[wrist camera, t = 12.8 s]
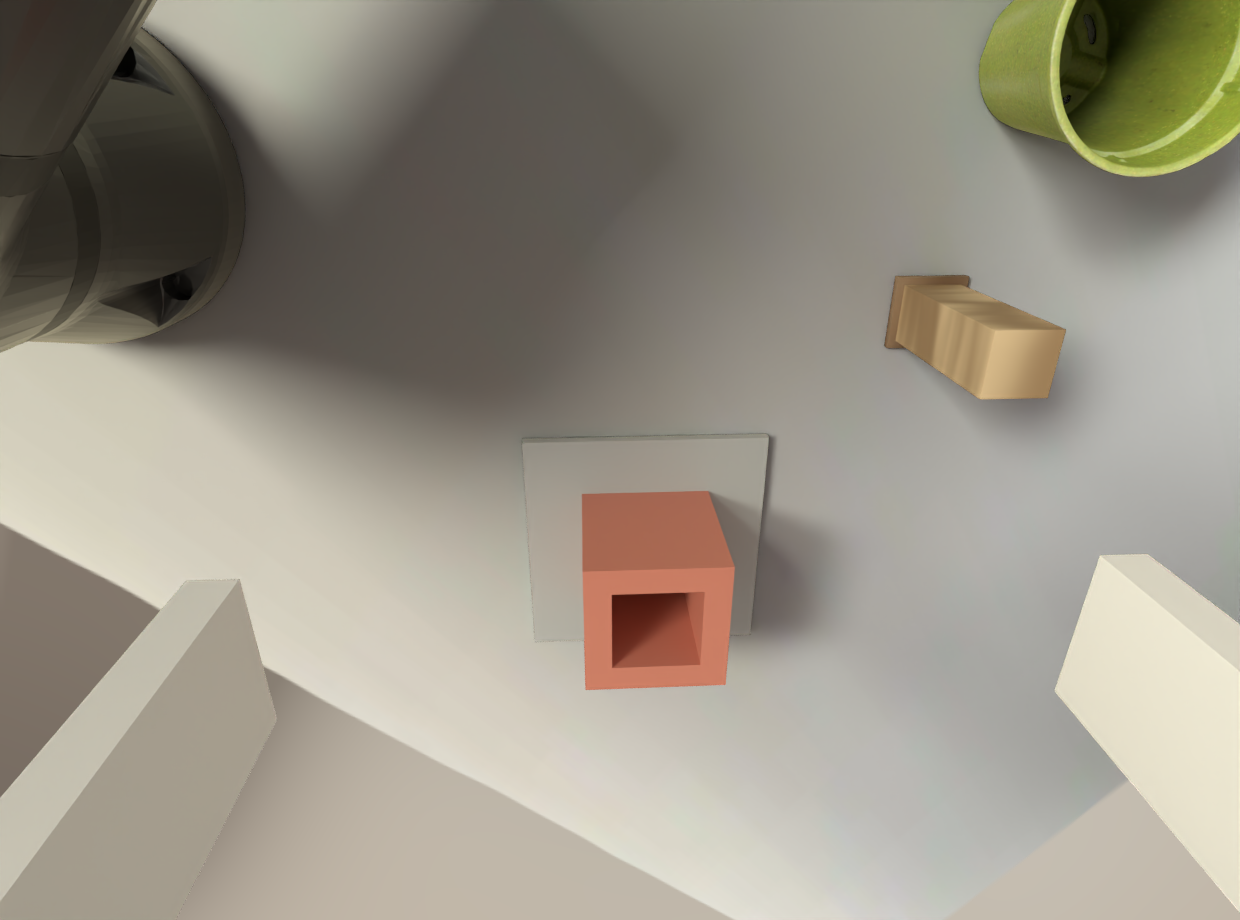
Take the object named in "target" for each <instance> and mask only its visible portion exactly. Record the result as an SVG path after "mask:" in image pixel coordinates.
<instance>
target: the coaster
mask: <svg viewBox="0 0 1240 920" xmlns="http://www.w3.org/2000/svg"><path fill="white" fill-rule="evenodd" d="M768 444H769V437H768V435H767V434H725V435H677V436H629V437H581V438H533V439H522V454H523V469H524V485H525V500H526V516H527V532H528V547H529V563H530V578H531V594H532V609H533V625H534V641H535V642H554V641H584V610H583V573H582V494H600V493H641V492H683V491H708V492H709V495H710V497H711V500H712V503H713V506H714V509H715V512H716V515H717V517H718V520H719V523H720V526H721V529H722V532H723V535H724V538H725V540H726V543H727V546H728V549H729V552H730V555H731V558H732V560H733V563H734V566H735V572H734V584H733V597H732V609H731V622H730V634H729V636H732V635H750V632H751V622H752V611H753V601H754V590H755V580H756V569H757V559H758V548H759V538H760V527H761V517H762V506H763V496H764V485H765V475H766V465H767V454H768Z"/></svg>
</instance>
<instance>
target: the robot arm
mask: <svg viewBox="0 0 1240 920" xmlns="http://www.w3.org/2000/svg"><path fill="white" fill-rule="evenodd" d="M156 1H157V0H0V353H1V352H3V351H6V350H8V349H10V348H13V347H15V346H17V345H19V344H22V343H24V342H27V341H31V342H56V343H80V344H107V343H117V342H123V341H128V340H133V339H138V338H141V337H145V336H148V335H151V334H153V333H156V332H158V331H160V330H163V329H165V328H167V327H169V326H171V325H173V324H175V323H177V322H179V321H181V320H183V319H185V318H187V317H188V316H190V315H192V314H193V313H195V312H196V311H198V310H199V309H200V308H202V307H203V306H204V305H205V304H206V303H208V302H209V301H210V300H211V299H212V298H213V297H214V295H215V294H216V293H217V292H218V291H219V290H220V288H221V287H222V286H223V284H224V283H225V281H226V280H227V278H228V276H229V275H230V273H231V271H232V269H233V267H234V264H235V262H236V259H237V257H238V254H239V250H240V247H241V243H242V238H243V232H244V224H245V198H244V188H243V182H242V176H241V172H240V168H239V164H238V160H237V157H236V154H235V151H234V148H233V145H232V143H231V140H230V138H229V135H228V133H227V131H226V129H225V127H224V124H223V122H222V121H221V119H220V117H219V115H218V113H217V111H216V110H215V108H214V106H213V105H212V103H211V101H210V100H209V98H208V97H207V95H206V94H205V92H204V91H203V90H202V88H201V87H200V85H199V84H198V83H197V82H196V80H195V79H194V78H193V76H192V75H191V74H190V73H189V72H188V71H187V69H186V68H185V67H184V66H183V65H182V64H181V63H180V62H179V61H178V60H177V59H176V58H175V57H174V56H173V55H172V54H171V53H170V52H169V51H168V50H167V49H166V48H165V47H164V46H163V45H162V44H160V43H159V42H158V41H157V40H156V39H155V38H153V37H152V36H151V35H150V34H148V33H147V32H146V31H144V30H143V29H142V28H141V27H142V25H143V23H144V21H145V20H146V18H147V16H148V15H149V13H150V11H151V10H152V8H153V6H154V5H155V3H156ZM1055 692H1056V693H1057V695H1058V696H1059V697H1060V698H1061V699H1062V701H1063V702H1064V703H1065V704H1066V705H1067V707H1068V708H1069V709H1070V710H1071V711H1072V713H1073V714H1074V715H1075V716H1076V717H1077V719H1078V720H1079V721H1080V722H1081V723H1082V725H1083V726H1084V727H1085V728H1086V729H1087V731H1088V732H1089V733H1090V734H1091V735H1092V737H1093V738H1094V739H1095V740H1096V741H1097V743H1098V744H1099V745H1100V746H1101V747H1102V749H1103V750H1104V751H1105V752H1106V753H1107V755H1108V756H1109V757H1110V758H1111V759H1112V761H1113V762H1114V763H1115V764H1116V765H1117V767H1118V768H1119V769H1120V770H1121V771H1122V772H1123V774H1124V775H1125V776H1126V777H1127V778H1128V780H1129V781H1130V782H1131V783H1132V784H1133V786H1134V787H1135V788H1136V789H1137V790H1138V792H1139V793H1140V794H1141V795H1142V796H1143V798H1144V799H1145V800H1146V801H1147V802H1148V804H1149V805H1150V806H1151V807H1152V808H1153V809H1154V811H1155V812H1156V813H1157V814H1158V816H1159V817H1160V818H1161V819H1162V820H1163V822H1164V823H1165V824H1166V825H1167V826H1168V827H1169V829H1170V830H1171V831H1172V832H1173V834H1174V835H1175V836H1176V837H1177V838H1178V840H1179V841H1180V842H1181V843H1182V844H1183V845H1184V847H1185V848H1186V849H1187V850H1188V852H1189V853H1190V854H1191V855H1192V856H1193V857H1194V859H1195V860H1196V861H1197V862H1198V863H1199V865H1200V866H1201V867H1202V868H1203V870H1204V871H1205V872H1206V873H1207V874H1208V875H1209V877H1210V878H1211V879H1212V880H1213V882H1214V883H1215V884H1216V885H1217V886H1218V887H1219V889H1220V890H1221V891H1222V892H1223V894H1224V895H1225V896H1226V897H1227V898H1228V899H1229V901H1230V902H1231V903H1232V904H1233V906H1234V907H1235V908H1236V909H1237V910H1238V911H1239V913H1240V624H1239V623H1237V622H1236V621H1235V620H1234V619H1232V618H1231V617H1230V616H1228V615H1227V614H1226V613H1224V612H1223V611H1222V610H1220V609H1219V608H1218V607H1216V606H1215V605H1214V604H1212V603H1211V602H1210V601H1209V600H1207V599H1206V598H1205V597H1203V596H1202V595H1201V594H1199V593H1198V592H1197V591H1195V590H1194V589H1193V588H1191V587H1190V586H1189V585H1188V584H1186V583H1185V582H1184V581H1182V580H1181V579H1180V578H1178V577H1177V576H1176V575H1174V574H1173V573H1172V572H1170V571H1169V570H1168V569H1167V568H1165V567H1164V566H1163V565H1161V564H1160V563H1159V562H1157V561H1156V560H1155V559H1153V558H1152V557H1151V556H1149V555H1148V554H1129V555H1100V557H1099V560H1098V563H1097V566H1096V569H1095V572H1094V575H1093V578H1092V581H1091V584H1090V587H1089V590H1088V593H1087V596H1086V599H1085V602H1084V605H1083V608H1082V611H1081V614H1080V617H1079V620H1078V623H1077V626H1076V628H1075V631H1074V634H1073V637H1072V640H1071V643H1070V646H1069V649H1068V652H1067V655H1066V658H1065V661H1064V664H1063V667H1062V670H1061V673H1060V676H1059V679H1058V682H1057V685H1056V688H1055ZM276 721H277V717H276V713H275V710H274V706H273V702H272V699H271V695H270V691H269V688H268V684H267V680H266V676H265V673H264V669H263V665H262V661H261V657H260V654H259V650H258V646H257V643H256V639H255V635H254V631H253V628H252V624H251V620H250V616H249V613H248V609H247V605H246V602H245V598H244V594H243V590H242V587H241V583H240V579H227V580H190V581H185V583H184V584H183V585H182V586H181V587H180V588H179V590H178V591H177V592H176V593H175V594H174V595H173V597H172V598H171V599H170V600H169V601H168V602H167V604H166V605H165V606H164V607H163V608H162V609H161V611H160V612H159V613H158V614H157V615H156V616H155V618H154V619H153V620H152V621H151V622H150V623H149V625H148V626H147V627H146V628H145V629H144V631H143V632H142V633H141V634H140V635H139V636H138V637H137V639H136V640H135V641H134V642H133V643H132V644H131V646H130V647H129V648H128V649H127V650H126V651H125V653H124V654H123V655H122V656H121V657H120V659H119V660H118V661H117V662H116V663H115V664H114V666H113V667H112V668H111V669H110V670H109V672H108V673H107V674H106V675H105V676H104V677H103V678H102V680H101V681H100V682H99V683H98V684H97V685H96V687H95V688H94V689H93V690H92V691H91V692H90V694H89V695H88V696H87V697H86V698H85V699H84V701H83V702H82V703H81V704H80V705H79V706H78V708H77V709H76V710H75V711H74V712H73V713H72V715H71V716H70V717H69V718H68V719H67V721H66V722H65V723H64V724H63V725H62V726H61V727H60V729H59V730H58V731H57V732H56V733H55V735H54V736H53V737H52V738H51V739H50V740H49V742H48V743H47V744H46V745H45V746H44V747H43V749H42V750H41V751H40V752H39V753H38V754H37V756H36V757H35V758H34V759H33V760H32V761H31V763H30V764H29V765H28V766H27V767H26V768H25V770H24V771H23V772H22V773H21V774H20V775H19V777H18V778H17V779H16V780H15V781H14V782H13V784H12V785H11V786H10V787H9V788H8V789H7V791H6V792H5V793H4V794H3V795H2V796H1V798H0V920H176V918H177V917H178V915H179V913H180V911H181V909H182V907H183V905H184V903H185V901H186V899H187V897H188V895H189V893H190V891H191V889H192V887H193V885H194V883H195V881H196V879H197V877H198V875H199V873H200V871H201V869H202V867H203V865H204V863H205V861H206V859H207V857H208V856H209V854H210V852H211V849H212V848H213V846H214V843H215V842H216V840H217V838H218V836H219V833H220V832H221V829H222V828H223V826H224V824H225V822H226V820H227V818H228V816H229V814H230V812H231V810H232V808H233V806H234V804H235V802H236V800H237V798H238V796H239V794H240V792H241V790H242V788H243V786H244V784H245V782H246V780H247V778H248V776H249V774H250V772H251V770H252V768H253V766H254V764H255V762H256V760H257V758H258V756H259V754H260V753H261V751H262V748H263V747H264V745H265V743H266V741H267V739H268V737H269V735H270V733H271V731H272V729H273V727H274V725H275V723H276Z"/></svg>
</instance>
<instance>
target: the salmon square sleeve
mask: <svg viewBox="0 0 1240 920" xmlns="http://www.w3.org/2000/svg"><path fill="white" fill-rule="evenodd" d="M734 572H735V566H734V563H733V560H732V558H731V555H730V552H729V549H728V546H727V543H726V540H725V538H724V535H723V532H722V529H721V526H720V523H719V520H718V517H717V515H716V512H715V509H714V506H713V503H712V500H711V497H710V495H709V492H708V491H683V492H641V493H600V494H582V573H583V610H584V648H585V685H586V690H596V689H623V688H650V687H678V686H705V685H725V684H726V671H727V659H728V646H729V634H730V622H731V609H732V597H733V584H734Z"/></svg>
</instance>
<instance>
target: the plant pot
mask: <svg viewBox="0 0 1240 920" xmlns="http://www.w3.org/2000/svg"><path fill="white" fill-rule="evenodd" d="M1085 14H1089V15H1090V16H1091V17H1092V19H1093V21H1094V23H1095V28H1096V40H1095V42H1094V44H1090V43H1089V38H1088V30H1087V27H1086V24H1085V23H1084V20H1083V18H1084V15H1085ZM979 82H980V88H981V92H982V96H983V99H984V101H985V103H986V105H987V107H988V109H989V110H990V111H991V113H992V114H993V115H994V116H995V117H996V118H997V119H998V120H1000V121H1001V122H1003V123H1004V124H1006V125H1009V126H1011V127H1013V128H1015V129H1019V130H1022V131H1026V132H1029V133H1033V134H1037V135H1040V136H1044V137H1047V138H1051V139H1054V140H1058V141H1061V142H1064V143H1068V144H1069V145H1070V146H1071V147H1072V149H1073V150H1074V151H1075V152H1076V153H1078V154H1079V155H1080V156H1081V157H1082V158H1083V159H1085V160H1086V161H1087V162H1089V163H1090V164H1092V165H1094V166H1096V167H1098V168H1100V169H1102V170H1104V171H1107V172H1110V173H1113V174H1118V175H1122V176H1129V177H1151V176H1158V175H1163V174H1168V173H1172V172H1175V171H1178V170H1181V169H1184V168H1186V167H1189V166H1191V165H1193V164H1195V163H1197V162H1199V161H1201V160H1202V159H1204V158H1206V157H1208V156H1210V155H1211V154H1213V153H1215V152H1216V151H1218V150H1219V149H1221V148H1222V147H1223V146H1225V145H1226V144H1228V143H1229V142H1230V141H1231V140H1232V139H1233V138H1234V137H1236V136H1237V135H1238V134H1239V133H1240V0H1014V1H1013V2H1012V3H1010V4H1009V5H1008V6H1007V7H1006V8H1005V10H1004V11H1003V12H1002V13H1001V14H1000V15H999V17H998V18H997V20H996V21H995V23H994V25H993V28H992V31H991V33H990V36H989V38H988V41H987V43H986V46H985V49H984V51H983V54H982V56H981V59H980V64H979ZM1067 95H1071V97H1070V101H1069V102H1068V103H1067V104H1065V105H1063V101H1062V99H1063V98H1065V97H1066V96H1067Z"/></svg>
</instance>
